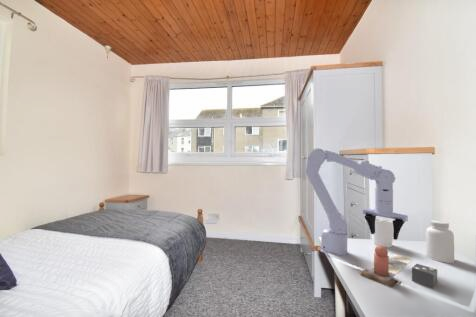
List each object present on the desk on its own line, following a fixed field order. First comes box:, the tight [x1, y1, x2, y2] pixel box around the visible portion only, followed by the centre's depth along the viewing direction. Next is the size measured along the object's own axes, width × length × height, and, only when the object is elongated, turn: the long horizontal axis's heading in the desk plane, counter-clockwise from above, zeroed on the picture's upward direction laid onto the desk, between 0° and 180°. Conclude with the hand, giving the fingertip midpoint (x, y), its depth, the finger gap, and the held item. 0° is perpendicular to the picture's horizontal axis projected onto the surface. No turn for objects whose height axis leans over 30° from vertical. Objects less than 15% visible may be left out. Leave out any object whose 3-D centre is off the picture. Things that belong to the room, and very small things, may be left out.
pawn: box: [373, 245, 390, 277], centre depth 72 cm, size 4×4×9 cm
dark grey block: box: [411, 263, 438, 289], centre depth 68 cm, size 5×5×5 cm
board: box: [360, 253, 414, 288], centre depth 78 cm, size 9×28×1 cm, turn 128°
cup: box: [371, 217, 394, 248], centre depth 99 cm, size 9×9×12 cm
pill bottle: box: [425, 219, 455, 264], centre depth 85 cm, size 8×8×15 cm
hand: (383, 236), depth 84 cm, fingers open, 7 cm apart
